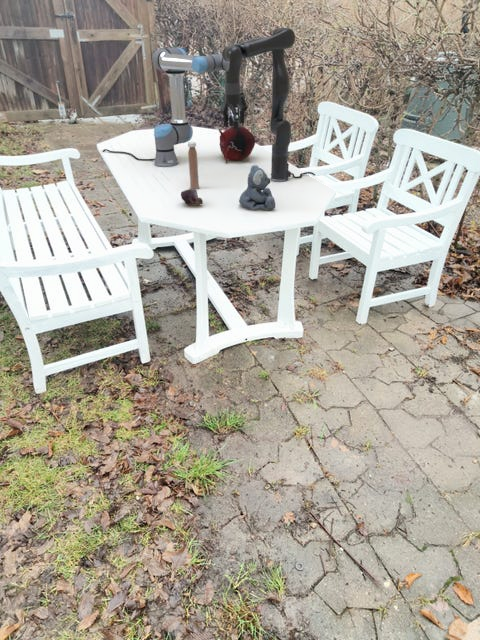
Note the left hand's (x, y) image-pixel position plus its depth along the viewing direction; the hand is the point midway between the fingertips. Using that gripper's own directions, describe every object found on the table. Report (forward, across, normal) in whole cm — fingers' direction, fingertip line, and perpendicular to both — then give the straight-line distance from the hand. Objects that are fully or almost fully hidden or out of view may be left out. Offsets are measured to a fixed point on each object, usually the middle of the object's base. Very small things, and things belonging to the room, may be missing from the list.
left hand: (234, 125), depth 259 cm
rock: (+28, -54, -20) cm, 64 cm away
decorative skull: (+28, +26, +22) cm, 44 cm away
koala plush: (+28, -33, -46) cm, 63 cm away
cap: (+4, -35, -1) cm, 35 cm away
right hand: (-4, -22, -20) cm, 30 cm away
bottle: (+28, -35, -1) cm, 45 cm away
